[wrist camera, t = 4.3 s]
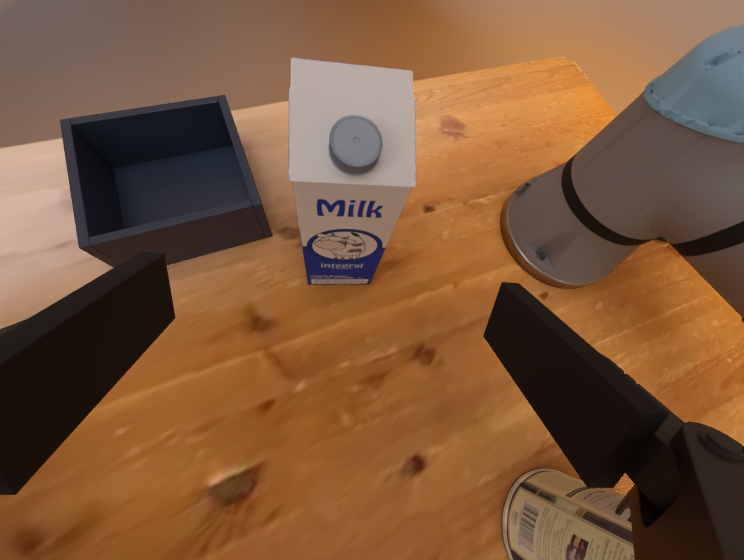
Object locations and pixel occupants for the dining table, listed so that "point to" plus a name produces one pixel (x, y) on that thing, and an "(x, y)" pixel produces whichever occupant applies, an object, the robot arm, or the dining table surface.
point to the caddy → (161, 182)
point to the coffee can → (564, 520)
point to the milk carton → (349, 163)
